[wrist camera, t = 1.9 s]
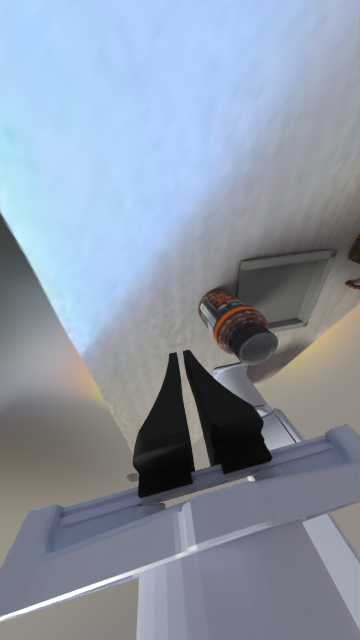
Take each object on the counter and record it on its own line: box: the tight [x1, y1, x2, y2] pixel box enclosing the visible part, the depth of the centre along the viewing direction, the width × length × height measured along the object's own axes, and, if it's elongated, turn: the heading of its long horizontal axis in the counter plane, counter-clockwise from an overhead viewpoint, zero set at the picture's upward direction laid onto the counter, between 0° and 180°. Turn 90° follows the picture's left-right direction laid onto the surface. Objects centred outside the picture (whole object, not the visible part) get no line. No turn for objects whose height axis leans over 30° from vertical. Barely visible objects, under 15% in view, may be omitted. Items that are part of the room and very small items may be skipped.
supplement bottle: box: [198, 290, 278, 365], centre depth 18 cm, size 6×6×11 cm
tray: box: [236, 250, 338, 333], centre depth 23 cm, size 13×14×2 cm
